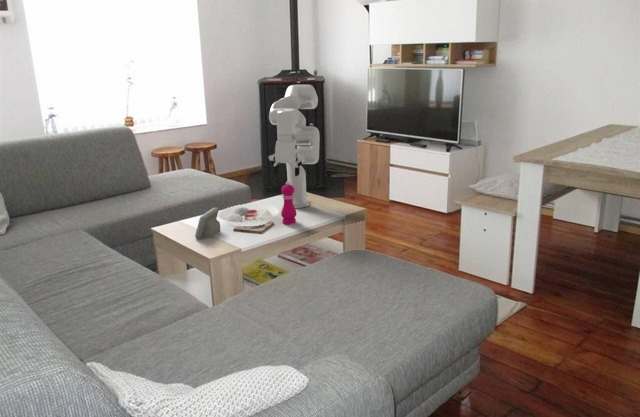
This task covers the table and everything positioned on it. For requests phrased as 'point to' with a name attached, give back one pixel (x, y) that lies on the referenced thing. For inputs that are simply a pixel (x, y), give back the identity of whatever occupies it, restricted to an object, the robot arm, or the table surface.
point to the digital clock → (208, 224)
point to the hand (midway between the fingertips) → (287, 175)
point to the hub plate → (254, 228)
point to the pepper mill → (288, 205)
